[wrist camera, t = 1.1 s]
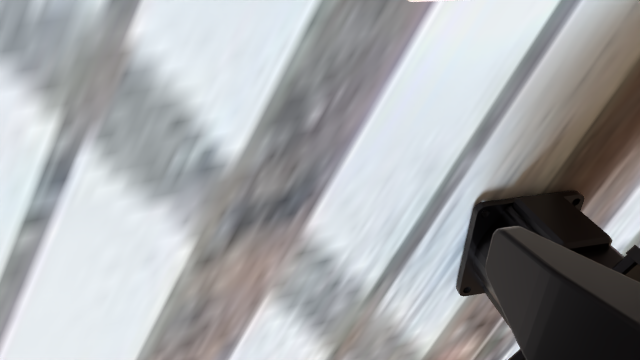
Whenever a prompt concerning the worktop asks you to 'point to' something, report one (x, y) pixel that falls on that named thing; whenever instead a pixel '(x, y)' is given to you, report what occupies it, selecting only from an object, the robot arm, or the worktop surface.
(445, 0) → the tray
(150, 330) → the worktop surface
